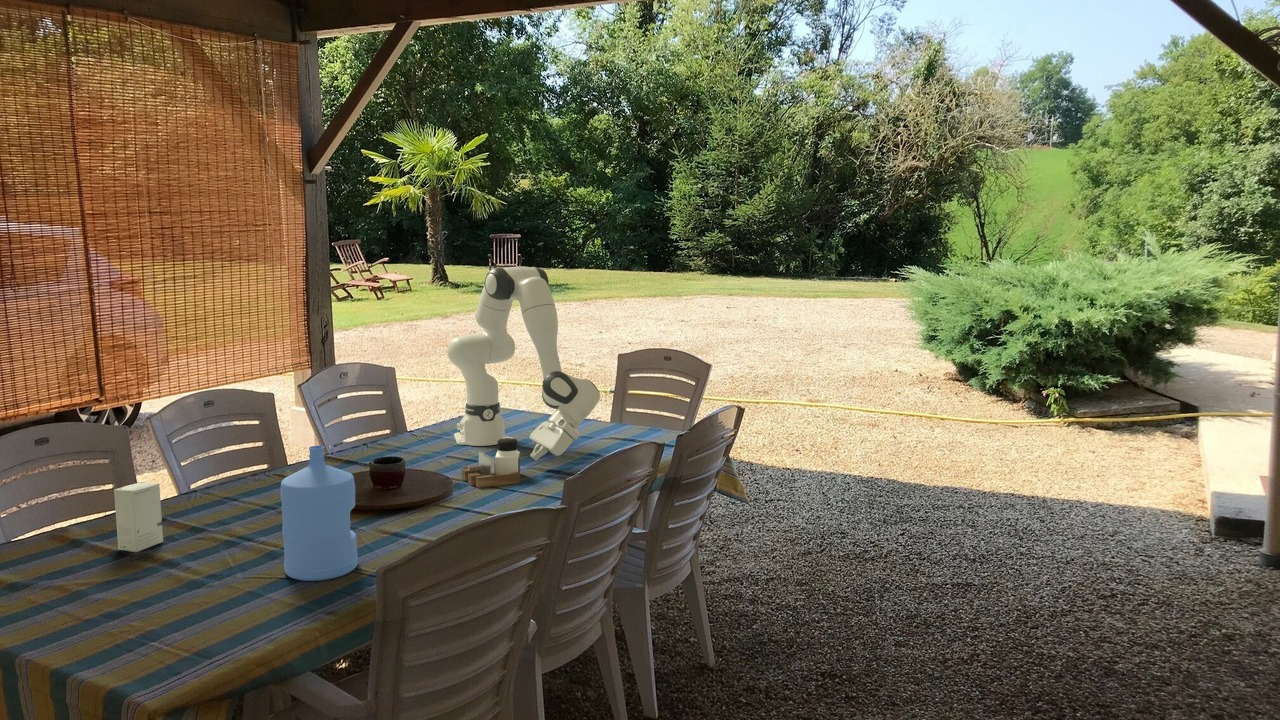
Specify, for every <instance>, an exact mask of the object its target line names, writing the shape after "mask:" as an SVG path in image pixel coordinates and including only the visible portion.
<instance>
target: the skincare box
mask: <svg viewBox="0 0 1280 720" xmlns="http://www.w3.org/2000/svg"><path fill="white" fill-rule="evenodd" d="M160 486H161V485H160V483H159V482H158V483H157V482H147V481H140V482H136V483H133V484H129V485H125V486H121V487H119V488H115V489H114V490H113V494H114V506H115V507H114V510H115V520H116V521H115V522H116V524H115V525H116V536H117V549H118V550H119V551H125V552H126V551H127V552H130V553H131V552H133V553H138V552H141V551H143V550H145V549H146V550H147V549H148V548H150V547H153V546H155V545H159V544H162V543H163V542H164V534H163V533H164V532H163V518H162V505H161V503H162V502H161V489H160Z"/></svg>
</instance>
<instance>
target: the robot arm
mask: <svg viewBox="0 0 1280 720" xmlns="http://www.w3.org/2000/svg"><path fill="white" fill-rule="evenodd" d="M513 301H518V302H519V305H520V311H521V316H522V319H523V323H524V325H525V327H526V330H527V332H528V334H529V335H528V336H530V339H531V341H532V343H533V345H534V347H535V349H536V351H537V355H538V358H539V363H540V367H541V372H542V377H543V381H542V384H541V385H542V387H541V388H542V391H541V397H542V400H543V402H544V404H545V405H546V406H547V407H549V408H550V409H554V412H553V413H552V414H551V415H550V416H549V417H548V419H547V420H545V421H543V422H541V423H540V424H539V425H538V426H537V427H536V428H534V430H533V431H532V432H531V433H530V435H529V439H530V441H531V442H533V443H534V444H535V446H534V447H533V450H532V452H531V453H530V454H529V456H530V457H531V459H533V460H535V461H538V460H539V459H540V458H541V457H543V456H545V455H546V454H547V453H548V452H550V453H551V454H553V455H554V456H555V457H560V456H561V455H562V454H564V453H565V452H566V450H567V449H569V448H570V446H571V445H572V443H573V442H574V441H576V440H578V438H579V437H580V433H579V431H578V428H579V427H580V425H581V424H582V422H583V420H584V419H585V418H588V416H589V415H590V414H591V413H592V411H594V409H595V408H596V406H597V405H598V403H599V401H600V400H601V394H600V391H599V389H598V387H597V386H596V385H595V384H594V383H593V382H592V381H591V380H590V379H587V378H585V379H584V378H580V377H579V378H578V377H575V376H572V375H569V374H567V373H565V372H563V371H562V367H561V362H560V361H561V360H560V357H559V353H558V346H557V345H558V333H559V332H558V331H559V321H558V313H557V312H558V311H557V308H556V304H555V300H554V296H553V294H552V291H551V289H550V287H549V277H548V274H547V273H546V271H545V270H544V269H542V268H539V267H536V266H531V267H529V266H521V265H520V266H518V265H517V266H508V267H507V266H506V267H495V268H492V269H490V270H489V271H488V272H487V273H486V275H485V279H484V285H483V288H482V291H481V293H480V297H479V300H478V304H477V307H476V311H475V316H474V317H475V320H476V323H477V324H478V326H480V327H481V328H482V329H483V330H482V332H481V333H473V334H463V335H459V336H457V337H455V338H452V339H451V340H450V341H449V343H448V346H447V351H446V352H447V356H448V359H449V361H450V362H451V363H452V364H453V365H454V366H455V367H457V368H458V369H459V370H460V372H461V374H462V376H463V377H464V382H465V387H466V404H465V407H464V408H465V409H464V412H465V413H464V416H463V417H462V418H461V420H460V421H459V422H457V423H456V429H457V430H458V431H459V430H460V431H459V432H458V431H457V432H455V433H454V434H453V437H454V439H455V441H456V443H457V445H460V446H461V445H463V446H464V445H465V446H476V447H477V446H478V447H480V446H481V447H484V446H485V447H486V446H494V445H495V446H496V445H498V440H499V439H501V438H507V437H509V436H508V435H507V434H506V433H505V432H506V431H505V430H506V429H505V420H504V417H503V416H502V414H500V412H501V404H500V401H499V382H498V380H497V379H496V378H495V377H494V376H493V375H490V374H489V373H487V370H486V365H491V364H499V363H500V364H501V363H503V362H505V361H508V360H510V359H511V358H513V356H514V354H515V352H516V342H515V340H514V338H513V337H512V336H511V335H510V333H509V332H508V330H507V326H508V319H509V316H510V312H511V309H512V305H513V303H514V302H513Z"/></svg>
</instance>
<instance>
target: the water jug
mask: <svg viewBox="0 0 1280 720" xmlns="http://www.w3.org/2000/svg"><path fill="white" fill-rule="evenodd" d="M324 449H325V446H323V445H312V446H309V447H308V450H309V455H308V458H309V464H308V466H306V467H304V468H302V469H300V470H298V471H296V472H294V473H291V474H290V475H287V476H286V477H284V478H283V479H282V481H280V482H281V483H280V492H279V493H280V502H281V512H282V514H281V515H282V516H281V517H282V526H281V527H282V532H281V533H282V538H283V552H284V553H283V554H284V555H283V556H284V557H283V558H284V562H283V568H284V573H285V574H286V575H287V576H288V577H289V578H290V579H294V580H298V581H302V582H303V581H304V582H318V581H328V580H332V579H337V578H339V577H343V576H345V575H347V574H349V573H351V572H352V571H354V570H355V569H356V568H357V566H358V564H359V555H358V545H357V544H358V541H357V534H356V532H354V530H351V511H352V510H353V509H354V508H355V506H356V482H355V476H354V475H353V474H352V473H350V472H349V471H345V470H344V469H339V468H337V467H334V466H331V465H327V464H326V463H325V453H324Z"/></svg>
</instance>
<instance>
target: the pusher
mask: <svg viewBox="0 0 1280 720" xmlns="http://www.w3.org/2000/svg"><path fill="white" fill-rule="evenodd" d="M494 463H495V458H492V457H491V456H490V455H488V454H487V453H485V452H484V451H478V464H477V465H478V466H470V465H468V466H469V467H468V471H477V470H479V474H480V475H481V476H488V475H495V466H494Z"/></svg>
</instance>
